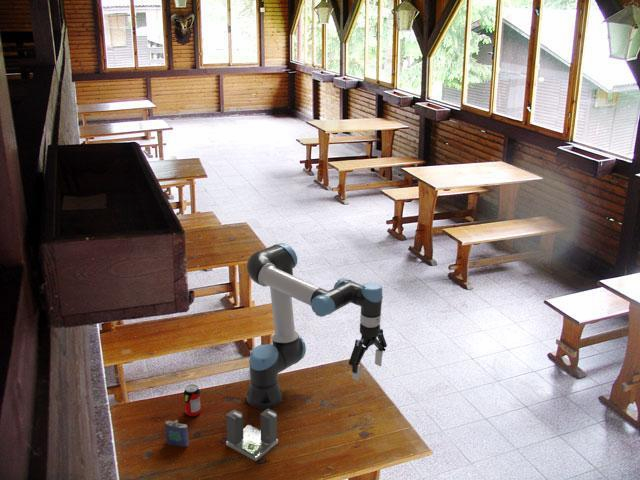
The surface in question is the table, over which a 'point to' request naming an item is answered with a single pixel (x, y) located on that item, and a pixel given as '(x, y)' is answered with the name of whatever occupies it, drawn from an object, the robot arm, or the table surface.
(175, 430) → the flask
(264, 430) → the grey tall block
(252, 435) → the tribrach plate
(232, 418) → the grey upright post
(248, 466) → the table surface
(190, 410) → the beverage can
